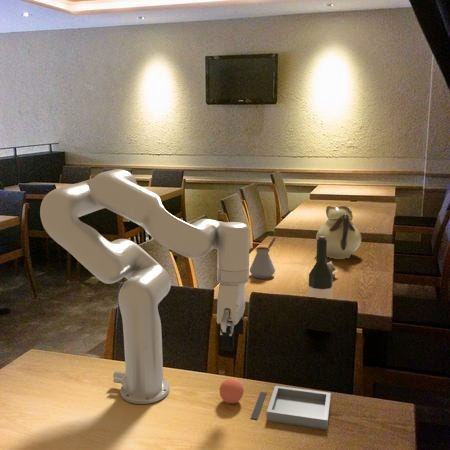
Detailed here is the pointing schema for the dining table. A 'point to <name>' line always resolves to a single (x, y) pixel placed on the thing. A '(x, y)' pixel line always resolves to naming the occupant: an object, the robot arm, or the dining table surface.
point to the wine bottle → (321, 273)
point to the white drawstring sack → (340, 233)
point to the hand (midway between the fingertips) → (232, 341)
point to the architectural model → (332, 268)
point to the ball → (231, 390)
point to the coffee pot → (262, 263)
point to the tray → (299, 407)
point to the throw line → (258, 405)
